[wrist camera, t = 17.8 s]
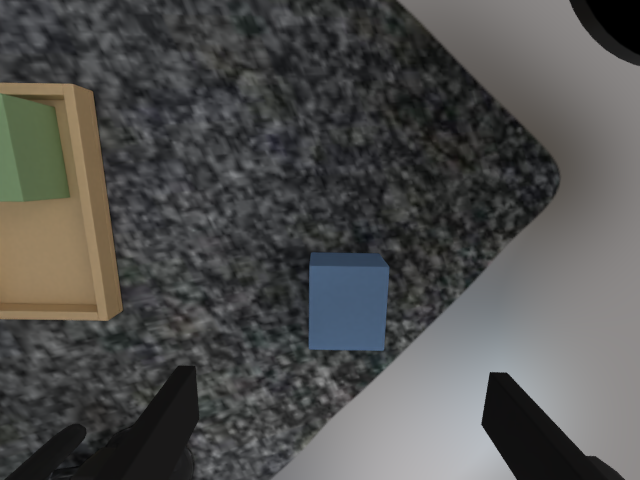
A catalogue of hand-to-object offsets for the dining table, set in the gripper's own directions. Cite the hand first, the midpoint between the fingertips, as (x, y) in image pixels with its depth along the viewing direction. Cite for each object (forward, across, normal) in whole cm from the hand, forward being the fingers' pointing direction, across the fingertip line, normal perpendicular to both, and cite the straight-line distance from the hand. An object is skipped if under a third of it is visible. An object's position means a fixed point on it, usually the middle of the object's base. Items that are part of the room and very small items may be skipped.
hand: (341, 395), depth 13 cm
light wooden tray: (+14, -25, +6) cm, 29 cm away
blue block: (+14, +1, 0) cm, 14 cm away
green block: (+13, -25, +11) cm, 30 cm away
